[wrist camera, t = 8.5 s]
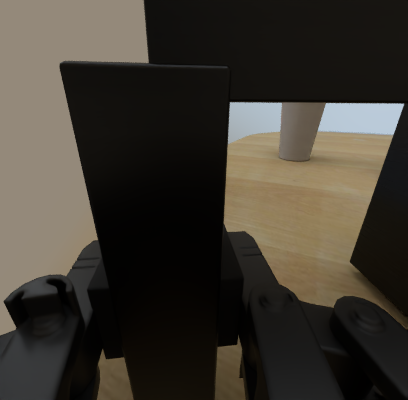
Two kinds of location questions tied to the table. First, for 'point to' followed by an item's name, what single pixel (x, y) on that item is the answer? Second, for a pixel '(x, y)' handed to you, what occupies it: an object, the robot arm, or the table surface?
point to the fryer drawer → (221, 159)
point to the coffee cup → (299, 129)
